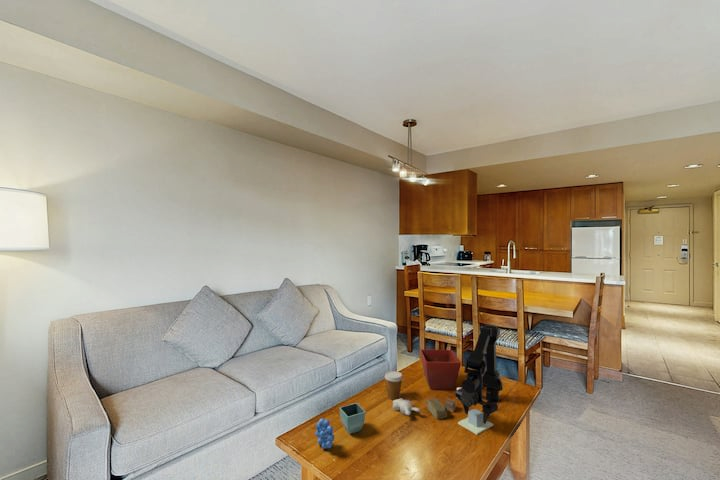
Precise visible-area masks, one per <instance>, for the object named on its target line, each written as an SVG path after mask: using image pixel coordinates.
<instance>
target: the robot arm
mask: <svg viewBox="0 0 720 480" xmlns="http://www.w3.org/2000/svg"><path fill="white" fill-rule="evenodd" d="M500 335H501V329H500V328H499V326H498V325H492V324H484V325H482V326H480V328H479V335H478V338H477V340H476V341H477V342H476V344H475V347H474V350H472V351H471V352H470V353H469V355H468V356H467V357H466V360H465V361H466V362H465V366H464V370H463V372H464V373H466V374H467V375H466V377H465V378H464V380H463V381H462V383H461V387H462V388H461V389H458V390H457V389H456V390H455V391H454V396H455V398H456V399H457V398H458V399H459V400H458V399H457V400H458V401H460V402H461V405H462V407H463V410H464V412H465V415H468V411H470V408H471V407H472V406H474V407H475V406H476V405H477V404H479V405H481V406H482V407H481V408H482V410H481V412H482V413H483V423H484V424H485V423H486V422H487V421H489V420H488V419H489V418H490V415H491V414H494V413H495V412H497V411H499V405H498V404H497V403H498V402H501V401H502V398H500V397H499V396H500V392H501V391H503V390H504V389H503V387H504V386H503V382H502V379H501V376H500V375H501V374H500V373H499V371H498V370H497V348H496V347H497V345H496V344H497V343H496V342H497V340H498V339H499V337H500ZM485 357H486V359H485ZM485 388H486V389H485ZM483 390H485V395H484V394H483ZM483 399H484V400H483ZM485 400H487V401H485Z"/></svg>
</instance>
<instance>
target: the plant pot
mask: <svg viewBox="0 0 720 480" xmlns="http://www.w3.org/2000/svg"><path fill="white" fill-rule="evenodd" d="M420 358H421V363H422V369H423V373H424V377H425V380H426V382H427V385H428V387H429V389H430V390H446V391H447V390H448V391H449V390H454V389H455V388H454V387H455V385H456V383H457V380H458V377H459V373H460V369H461V363H462V362H461V360H460V359H459V358H458V357H457V355H456V353H455V352H454V350H452V349H420Z"/></svg>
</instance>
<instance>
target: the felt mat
mask: <svg viewBox="0 0 720 480" xmlns="http://www.w3.org/2000/svg"><path fill="white" fill-rule="evenodd" d="M457 424H458V425H460V426H462V427H463V428H465V430H468V431H470V432H471V433H473V434H475V435H478V434H481V433H483V432H485V431H486V430H488V429H489V428H491V427H493V426H494V423H492V422H490V421H489V420H487V422H486V423H485V424H484V423H483V424H482V425H480V426H478V427H475V426H474V425H472V424H470V423H468V416H466V418H464V419H461V420H460V421H458V422H457Z"/></svg>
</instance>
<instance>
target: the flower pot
mask: <svg viewBox="0 0 720 480" xmlns="http://www.w3.org/2000/svg"><path fill="white" fill-rule="evenodd" d="M339 414H340V415H339V416H340V420H341V423H342V425H343V427H344V429H345V430H346V432H347V433H348V434H349V435H351V434H355V433H357V432H360V431H361V430H362V428H363V427H364V425H365V419H366V411H365V409H364V408H363V407H361V405H360V404H359V403H358V402H355V403H351V404H347V405H344V406H343V405H342V406H341V407H339Z"/></svg>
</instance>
